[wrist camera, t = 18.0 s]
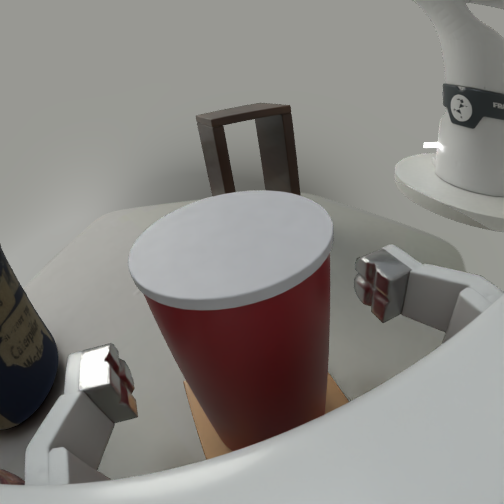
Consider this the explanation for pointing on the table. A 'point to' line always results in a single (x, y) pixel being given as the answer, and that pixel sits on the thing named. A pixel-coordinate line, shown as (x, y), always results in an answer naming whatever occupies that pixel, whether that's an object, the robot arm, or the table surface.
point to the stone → (10, 478)
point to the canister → (22, 352)
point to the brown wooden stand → (270, 143)
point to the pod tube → (244, 307)
